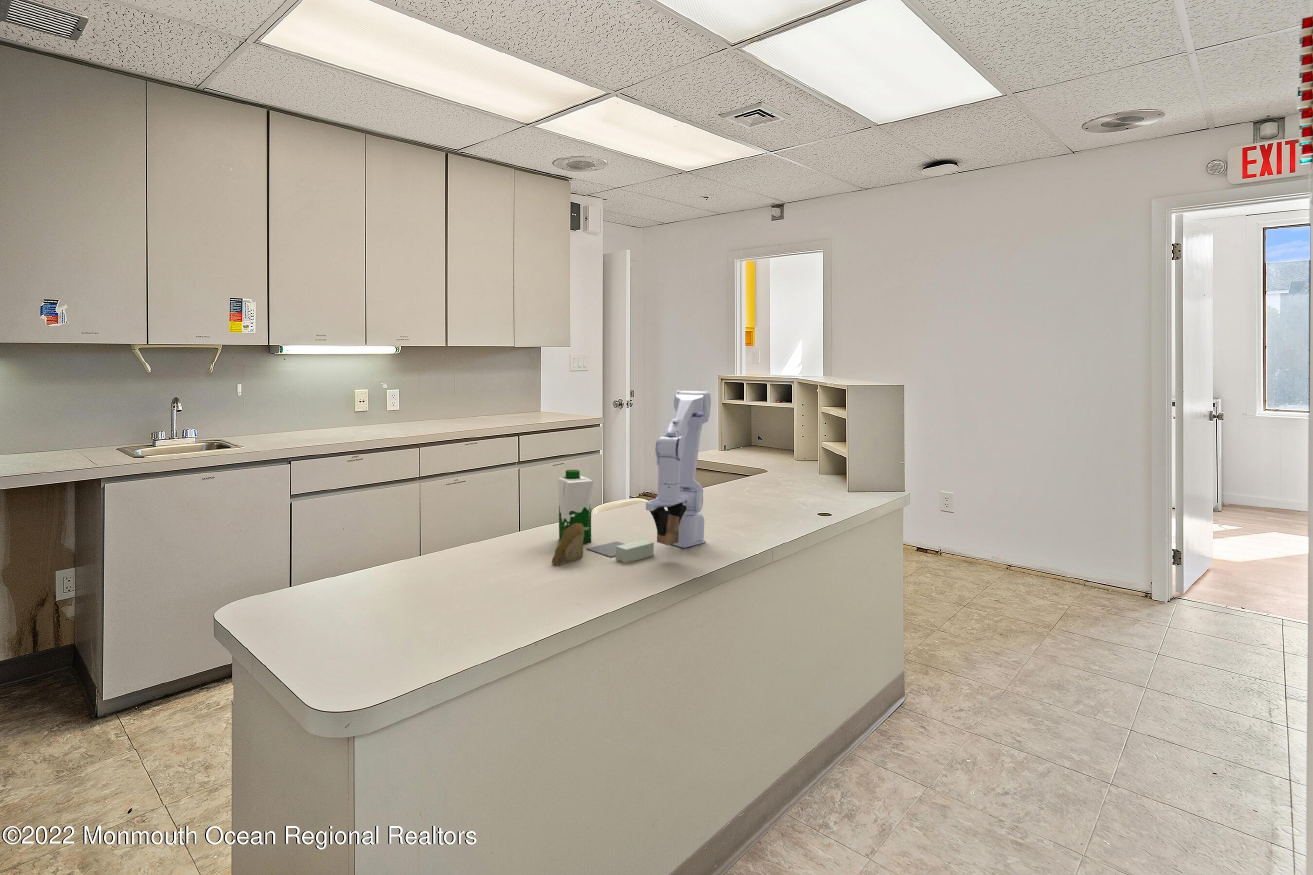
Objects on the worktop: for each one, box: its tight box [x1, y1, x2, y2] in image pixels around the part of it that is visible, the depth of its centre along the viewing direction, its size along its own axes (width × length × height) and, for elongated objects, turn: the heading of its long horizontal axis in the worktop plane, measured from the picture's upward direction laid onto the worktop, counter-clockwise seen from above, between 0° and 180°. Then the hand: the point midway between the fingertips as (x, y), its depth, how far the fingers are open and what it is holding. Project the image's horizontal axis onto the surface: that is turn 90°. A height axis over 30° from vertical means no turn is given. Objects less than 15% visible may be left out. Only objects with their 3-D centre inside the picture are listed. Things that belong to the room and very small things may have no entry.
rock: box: [550, 523, 584, 566], centre depth 178 cm, size 11×9×10 cm
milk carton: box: [557, 469, 594, 544], centre depth 196 cm, size 9×9×20 cm
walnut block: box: [656, 514, 679, 546], centre depth 180 cm, size 4×4×7 cm
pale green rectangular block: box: [615, 539, 655, 564], centre depth 182 cm, size 10×4×4 cm, turn 135°
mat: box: [586, 540, 625, 558], centre depth 189 cm, size 11×10×1 cm
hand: (667, 533), depth 180 cm, fingers closed on walnut block, 4 cm apart
